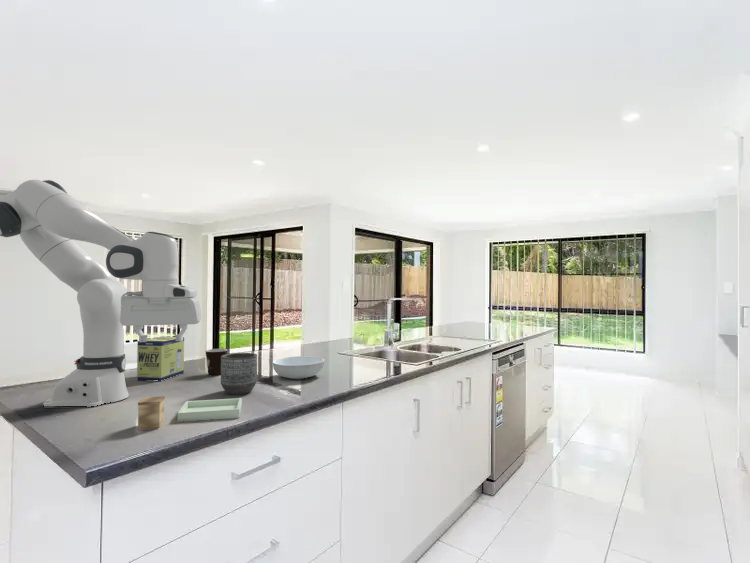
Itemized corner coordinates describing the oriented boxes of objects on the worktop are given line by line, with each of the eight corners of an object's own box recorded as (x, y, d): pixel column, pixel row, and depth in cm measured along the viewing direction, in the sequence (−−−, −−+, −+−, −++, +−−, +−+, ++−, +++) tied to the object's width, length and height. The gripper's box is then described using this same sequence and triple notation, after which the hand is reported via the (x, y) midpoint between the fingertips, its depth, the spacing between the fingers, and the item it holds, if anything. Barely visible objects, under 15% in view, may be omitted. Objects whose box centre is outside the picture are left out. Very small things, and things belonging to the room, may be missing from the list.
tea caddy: (137, 430, 107) (137, 402, 107) (143, 423, 112) (143, 397, 112) (159, 428, 108) (160, 401, 108) (164, 422, 113) (164, 396, 113)
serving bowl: (280, 371, 182) (280, 355, 182) (327, 372, 181) (328, 356, 181) (265, 382, 161) (265, 364, 161) (319, 383, 160) (319, 365, 160)
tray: (177, 421, 113) (177, 413, 113) (186, 409, 125) (186, 401, 125) (239, 417, 117) (239, 409, 117) (241, 405, 129) (242, 398, 129)
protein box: (136, 380, 162) (136, 340, 162) (161, 372, 177) (162, 336, 178) (161, 381, 161) (161, 341, 161) (184, 373, 176) (184, 336, 176)
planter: (261, 387, 152) (261, 352, 152) (251, 396, 140) (251, 358, 140) (227, 387, 152) (228, 352, 152) (214, 396, 140) (215, 358, 140)
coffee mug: (206, 372, 177) (206, 349, 178) (227, 371, 180) (227, 348, 180) (203, 378, 166) (203, 353, 167) (226, 377, 169) (226, 352, 169)
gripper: (115, 291, 110) (115, 344, 110) (195, 290, 113) (195, 342, 112) (126, 291, 117) (127, 340, 117) (202, 290, 119) (202, 339, 119)
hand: (161, 341), depth 115 cm, fingers open, 8 cm apart
